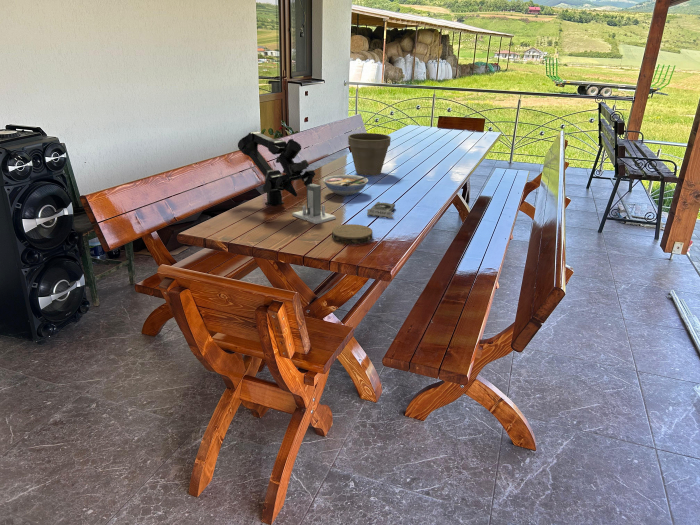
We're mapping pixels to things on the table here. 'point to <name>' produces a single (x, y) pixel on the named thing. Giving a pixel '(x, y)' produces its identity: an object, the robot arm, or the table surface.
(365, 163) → the plant pot
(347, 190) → the ramen bowl
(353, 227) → the brown flat round piece
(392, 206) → the graphics card
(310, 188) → the block
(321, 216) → the pin tray
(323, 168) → the table surface
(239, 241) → the table surface
